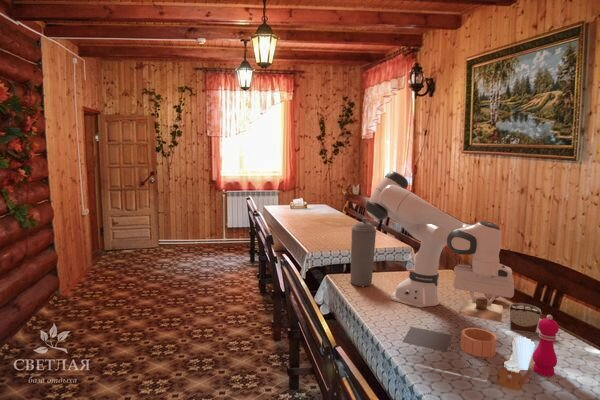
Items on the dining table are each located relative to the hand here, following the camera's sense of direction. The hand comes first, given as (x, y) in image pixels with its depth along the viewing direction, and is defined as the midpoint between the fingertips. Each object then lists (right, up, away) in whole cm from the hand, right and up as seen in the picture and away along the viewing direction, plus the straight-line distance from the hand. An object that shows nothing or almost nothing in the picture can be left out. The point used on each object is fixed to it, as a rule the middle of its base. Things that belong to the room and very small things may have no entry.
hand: (481, 304), depth 165 cm
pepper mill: (+16, -20, -12) cm, 28 cm away
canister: (-34, -6, +75) cm, 82 cm away
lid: (0, -3, 0) cm, 3 cm away
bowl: (0, -17, +2) cm, 18 cm away
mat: (-17, -16, +10) cm, 25 cm away
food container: (+26, -16, +23) cm, 38 cm away
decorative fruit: (+27, -11, +56) cm, 63 cm away
